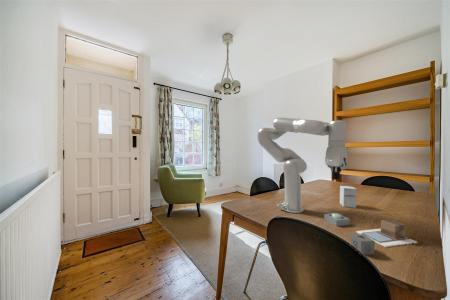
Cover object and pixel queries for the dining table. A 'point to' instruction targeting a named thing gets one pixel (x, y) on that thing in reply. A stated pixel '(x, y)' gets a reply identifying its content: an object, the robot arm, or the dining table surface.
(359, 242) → the dice cube
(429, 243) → the dining table surface
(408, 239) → the picture card
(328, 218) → the button housing
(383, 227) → the walnut block
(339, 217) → the button
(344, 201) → the supplement box
